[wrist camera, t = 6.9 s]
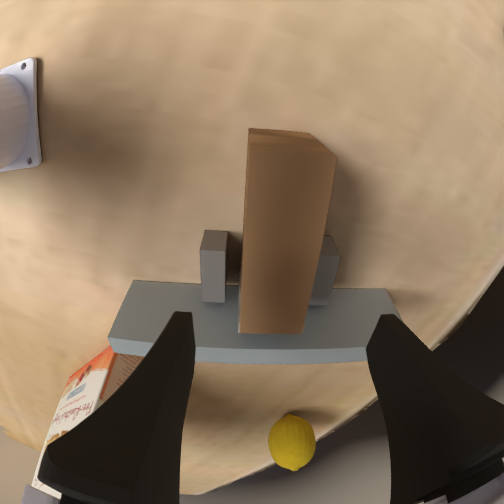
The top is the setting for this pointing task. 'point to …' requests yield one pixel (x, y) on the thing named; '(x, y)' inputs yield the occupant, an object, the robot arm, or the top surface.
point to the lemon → (291, 442)
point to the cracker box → (87, 397)
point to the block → (282, 228)
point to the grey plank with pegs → (227, 310)
